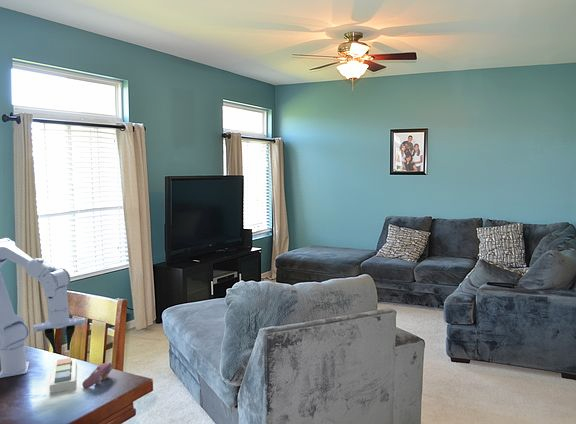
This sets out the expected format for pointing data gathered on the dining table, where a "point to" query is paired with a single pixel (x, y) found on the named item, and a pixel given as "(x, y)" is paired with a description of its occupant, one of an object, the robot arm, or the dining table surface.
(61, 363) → the terracotta key
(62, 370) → the sage key
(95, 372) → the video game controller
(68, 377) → the slate key
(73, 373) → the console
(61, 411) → the dining table surface
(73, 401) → the dining table surface
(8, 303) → the robot arm
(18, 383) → the dining table surface
